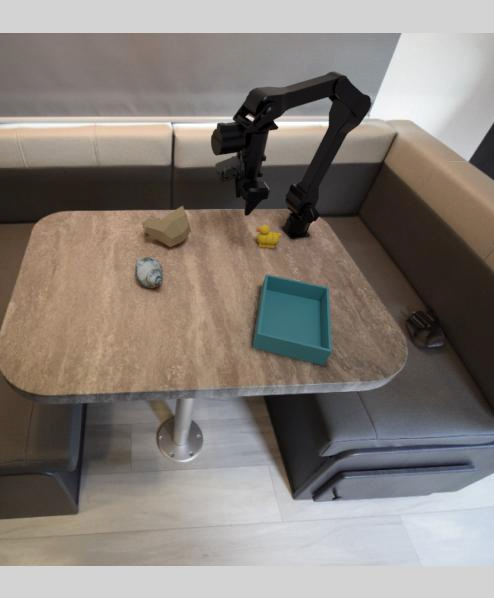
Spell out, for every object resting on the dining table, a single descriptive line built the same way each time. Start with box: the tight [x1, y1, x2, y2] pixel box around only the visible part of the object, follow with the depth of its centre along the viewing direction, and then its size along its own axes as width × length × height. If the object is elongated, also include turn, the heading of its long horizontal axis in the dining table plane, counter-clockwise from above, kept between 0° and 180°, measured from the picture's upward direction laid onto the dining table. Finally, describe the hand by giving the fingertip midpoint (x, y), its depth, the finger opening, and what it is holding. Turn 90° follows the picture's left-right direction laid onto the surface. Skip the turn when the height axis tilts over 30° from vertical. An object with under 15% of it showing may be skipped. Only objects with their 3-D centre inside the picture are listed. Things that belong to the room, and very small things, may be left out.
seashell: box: [135, 256, 163, 289], centre depth 91 cm, size 6×8×12 cm
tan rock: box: [141, 205, 192, 248], centre depth 102 cm, size 15×11×12 cm
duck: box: [255, 224, 282, 249], centre depth 103 cm, size 7×4×6 cm, turn 84°
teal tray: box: [251, 274, 333, 366], centre depth 82 cm, size 20×15×5 cm
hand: (242, 206), depth 96 cm, fingers open, 9 cm apart
